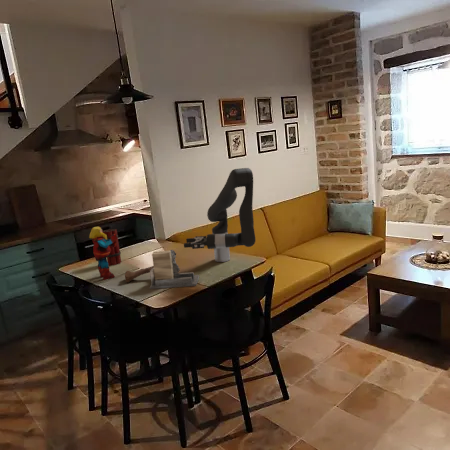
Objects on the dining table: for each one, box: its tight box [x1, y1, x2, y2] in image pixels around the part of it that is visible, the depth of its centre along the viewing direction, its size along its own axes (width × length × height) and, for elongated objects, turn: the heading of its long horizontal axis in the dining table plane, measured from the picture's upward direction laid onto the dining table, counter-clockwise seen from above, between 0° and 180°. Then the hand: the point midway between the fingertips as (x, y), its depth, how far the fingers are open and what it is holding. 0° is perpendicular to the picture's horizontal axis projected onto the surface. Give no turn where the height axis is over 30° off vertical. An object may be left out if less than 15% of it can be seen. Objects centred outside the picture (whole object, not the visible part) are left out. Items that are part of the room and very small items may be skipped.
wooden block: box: [151, 250, 174, 280], centre depth 212 cm, size 4×9×16 cm, turn 87°
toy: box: [88, 226, 117, 281], centre depth 230 cm, size 15×15×30 cm
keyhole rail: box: [149, 268, 200, 290], centre depth 213 cm, size 14×24×8 cm, turn 87°
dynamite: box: [102, 218, 122, 266], centre depth 257 cm, size 10×9×30 cm
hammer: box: [124, 249, 181, 283], centre depth 223 cm, size 15×10×30 cm
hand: (185, 243), depth 209 cm, fingers open, 8 cm apart
